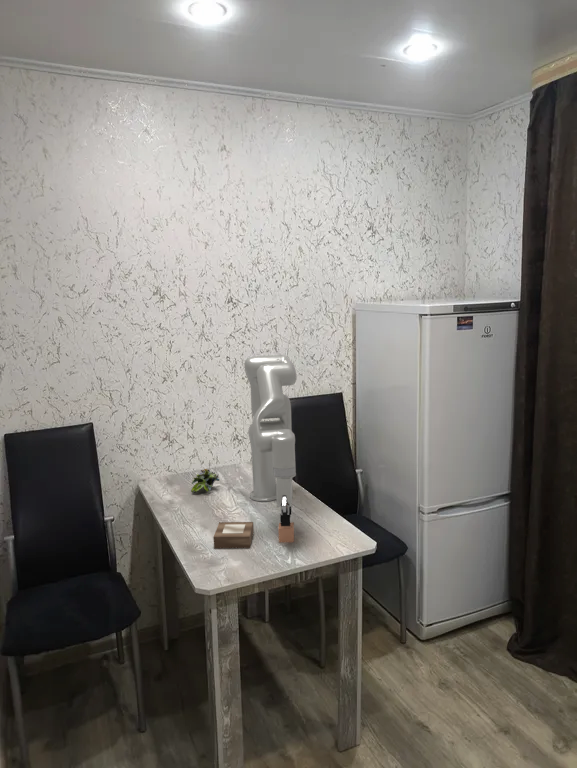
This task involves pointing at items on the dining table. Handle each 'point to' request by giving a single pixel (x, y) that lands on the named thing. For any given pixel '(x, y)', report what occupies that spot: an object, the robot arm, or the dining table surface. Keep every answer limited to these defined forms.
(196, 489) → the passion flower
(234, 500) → the dining table surface
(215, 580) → the dining table surface
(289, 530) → the terracotta cube
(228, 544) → the walnut frame
